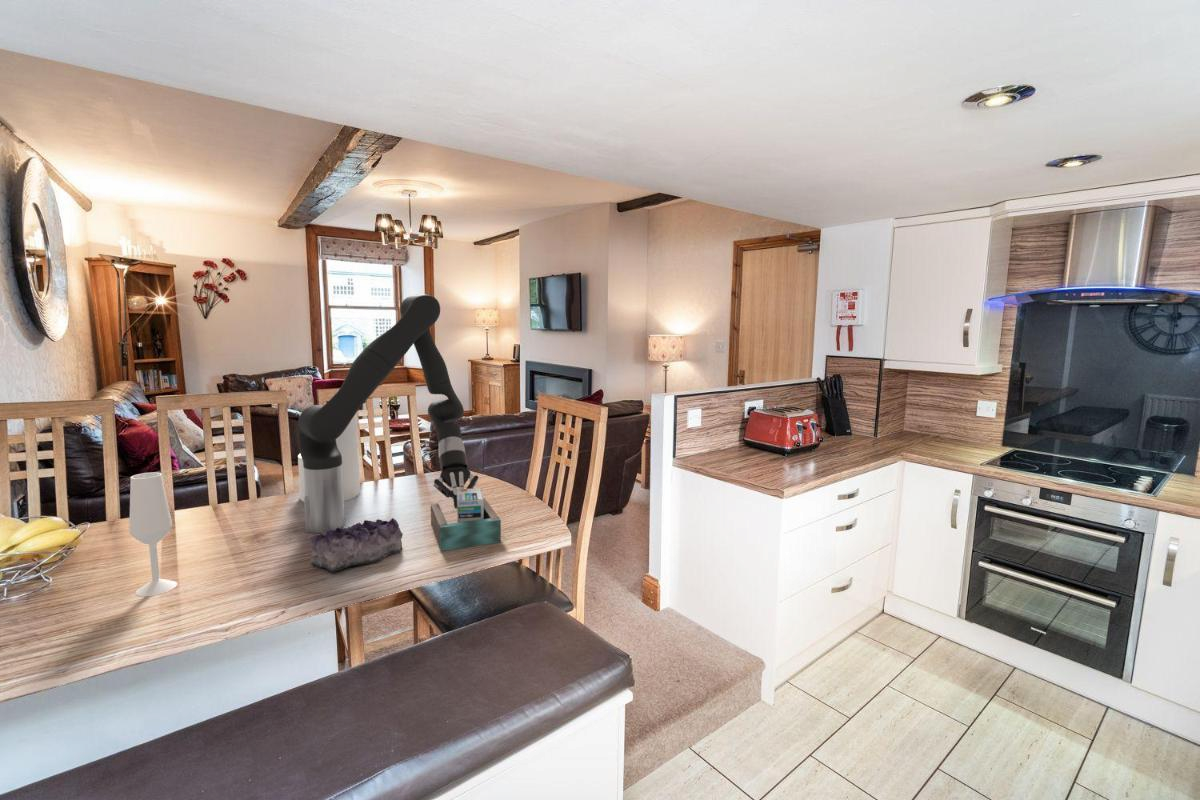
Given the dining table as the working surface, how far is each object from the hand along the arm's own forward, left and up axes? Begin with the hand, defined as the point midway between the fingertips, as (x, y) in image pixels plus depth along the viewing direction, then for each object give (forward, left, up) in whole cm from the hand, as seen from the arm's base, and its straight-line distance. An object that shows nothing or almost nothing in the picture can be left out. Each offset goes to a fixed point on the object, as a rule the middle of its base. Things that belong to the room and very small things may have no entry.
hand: (460, 508), depth 148 cm
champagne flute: (-64, -14, -5) cm, 66 cm away
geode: (-26, -13, -5) cm, 29 cm away
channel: (0, -6, -5) cm, 8 cm away
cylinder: (-34, +41, -5) cm, 54 cm away
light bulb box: (+1, -6, -5) cm, 8 cm away
